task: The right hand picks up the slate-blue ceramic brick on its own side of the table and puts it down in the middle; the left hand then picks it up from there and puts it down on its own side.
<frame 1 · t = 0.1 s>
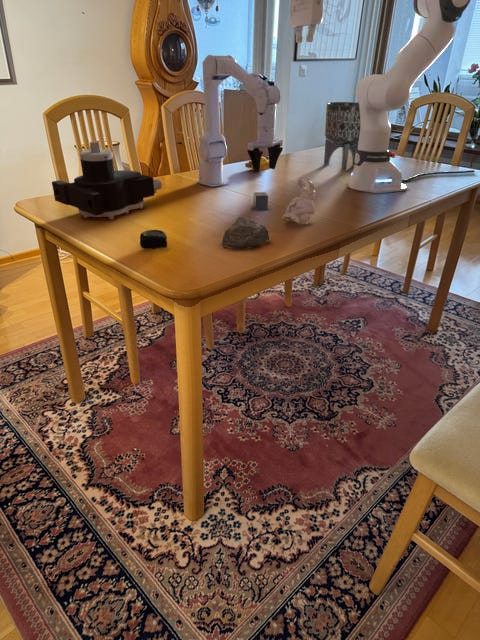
left hand: (264, 170, 155), 10 cm above the table, tool pointing down, fingers open, 7 cm apart
right hand: (304, 42, 147), 48 cm above the table, tool pointing down, fingers open, 8 cm apart
rock: (247, 244, 122), on the table
tape measure: (155, 248, 118), on the table
mechanical component: (118, 210, 146), on the table
toy: (260, 170, 202), on the table
planter: (341, 167, 211), on the table
figurine: (298, 222, 138), on the table
brick: (260, 208, 151), on the table
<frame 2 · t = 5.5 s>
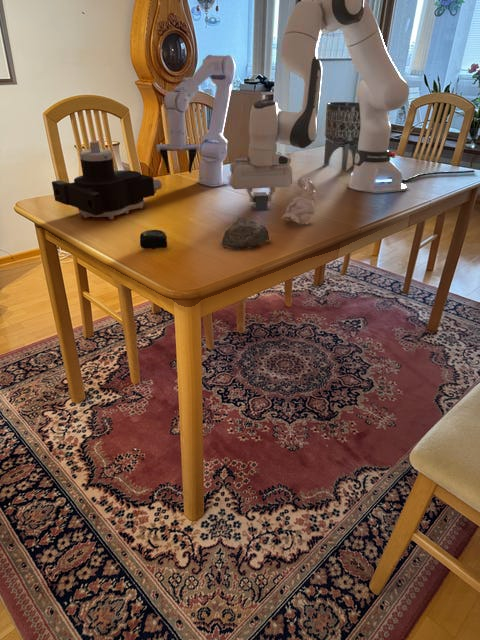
left hand: (179, 172, 161), 8 cm above the table, tool pointing down, fingers open, 7 cm apart
right hand: (260, 201, 150), 2 cm above the table, tool pointing down, fingers closed on brick, 4 cm apart
brick: (260, 208, 151), on the table, touching right hand
everything else where it was.
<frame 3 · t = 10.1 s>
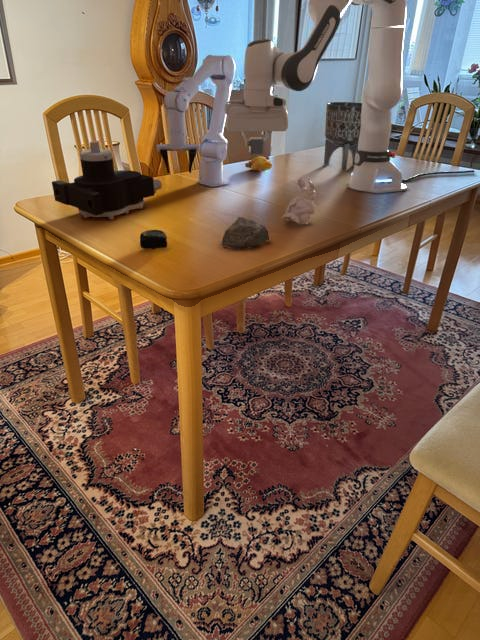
left hand: (179, 172, 161), 8 cm above the table, tool pointing down, fingers open, 7 cm apart
right hand: (256, 145, 150), 18 cm above the table, tool pointing down, fingers closed on brick, 4 cm apart
brick: (255, 153, 151), point 16 cm above the table, touching right hand
everything else where it was.
when the right hand's fingers open (3 cm above the table, at t = 14.6 s): brick stays where it is, on the table.
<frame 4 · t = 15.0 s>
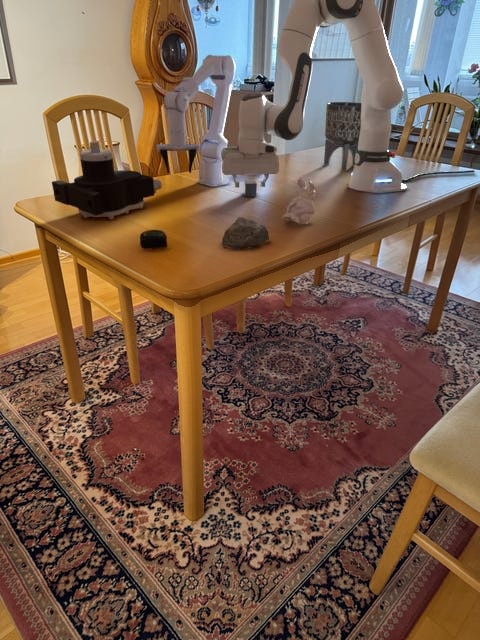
left hand: (179, 172, 161), 8 cm above the table, tool pointing down, fingers open, 7 cm apart
right hand: (249, 186, 163), 3 cm above the table, tool pointing down, fingers open, 8 cm apart
brick: (249, 195, 165), on the table
everything else where it was.
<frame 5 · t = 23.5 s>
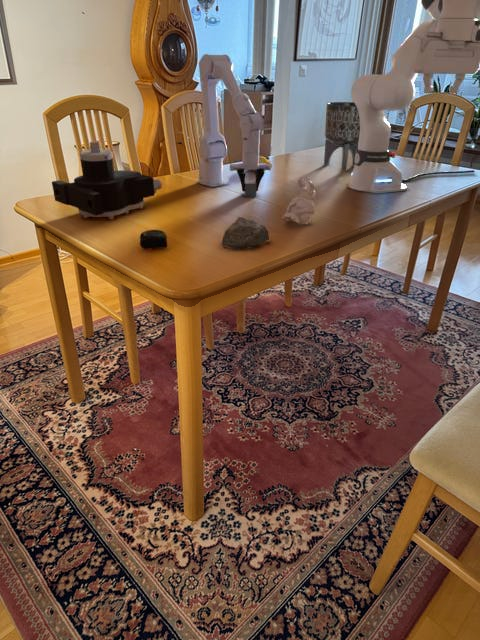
left hand: (249, 190, 164), 2 cm above the table, tool pointing down, fingers closed on brick, 4 cm apart
right hand: (440, 93, 124), 36 cm above the table, tool pointing down, fingers open, 8 cm apart
brick: (249, 195, 165), on the table, touching left hand
everything else where it was.
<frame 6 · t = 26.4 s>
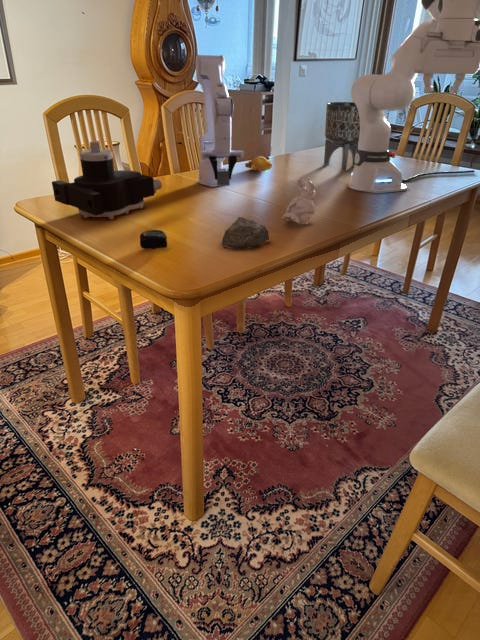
left hand: (222, 178, 160), 6 cm above the table, tool pointing down, fingers closed on brick, 4 cm apart
right hand: (440, 93, 124), 36 cm above the table, tool pointing down, fingers open, 8 cm apart
brick: (222, 183, 160), point 5 cm above the table, touching left hand
everything else where it was.
when the left hand's fingers open (2 cm above the table, at t = 29.3 s): brick stays where it is, on the table.
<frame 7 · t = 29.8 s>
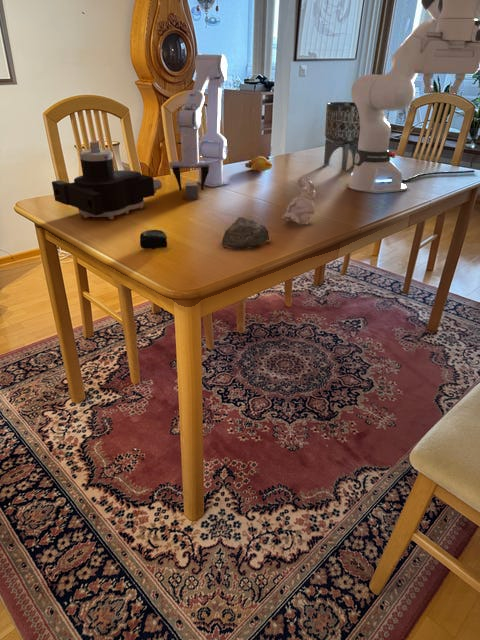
left hand: (191, 189, 159), 3 cm above the table, tool pointing down, fingers open, 7 cm apart
right hand: (440, 93, 124), 36 cm above the table, tool pointing down, fingers open, 8 cm apart
brick: (191, 197, 160), on the table
everything else where it was.
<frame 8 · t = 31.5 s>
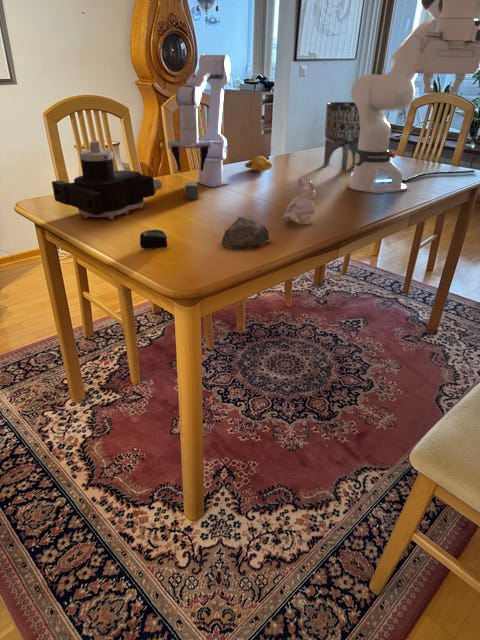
left hand: (190, 170, 156), 9 cm above the table, tool pointing down, fingers open, 7 cm apart
right hand: (440, 93, 124), 36 cm above the table, tool pointing down, fingers open, 8 cm apart
nothing on the table moved.
at the end: brick inside the target area (0.0 cm from its centre), on the table; brick tilted 0°; the two hands never held the brick at the same time; the left hand is holding nothing; the right hand is holding nothing; brick at rest at the end (0.0 cm/s) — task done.
